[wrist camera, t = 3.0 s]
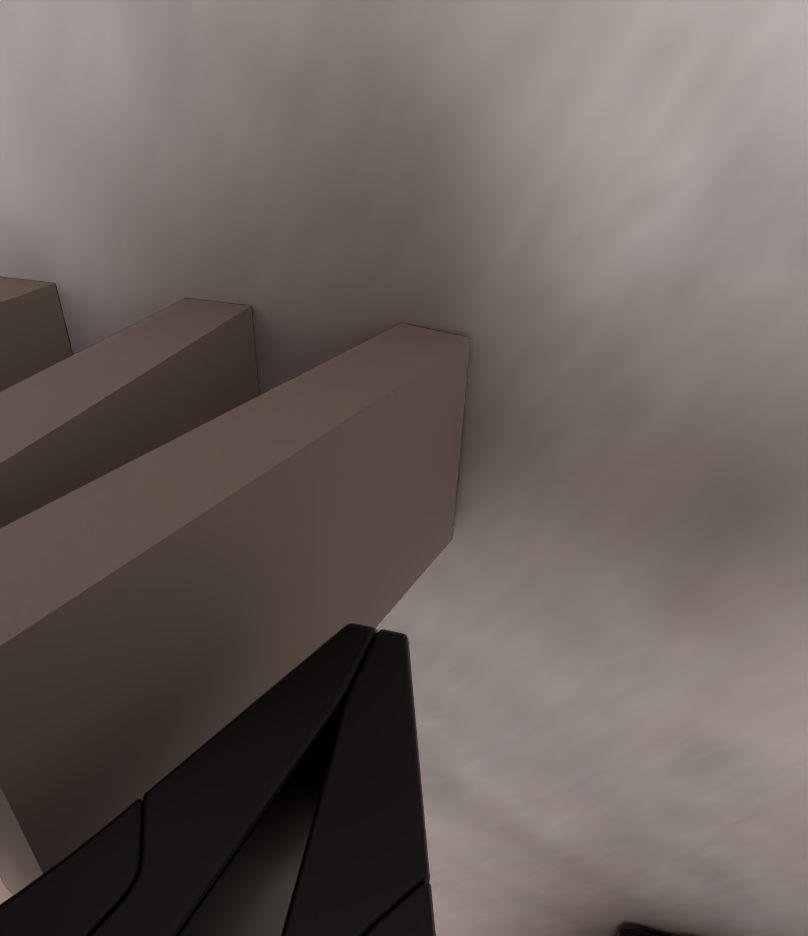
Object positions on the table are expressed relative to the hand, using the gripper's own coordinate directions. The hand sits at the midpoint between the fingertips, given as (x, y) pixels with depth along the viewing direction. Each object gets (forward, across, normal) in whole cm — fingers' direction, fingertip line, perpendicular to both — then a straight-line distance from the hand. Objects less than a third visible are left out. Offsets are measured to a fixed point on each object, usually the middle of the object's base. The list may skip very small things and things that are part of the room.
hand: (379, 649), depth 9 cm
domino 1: (+6, +1, 0) cm, 6 cm away
